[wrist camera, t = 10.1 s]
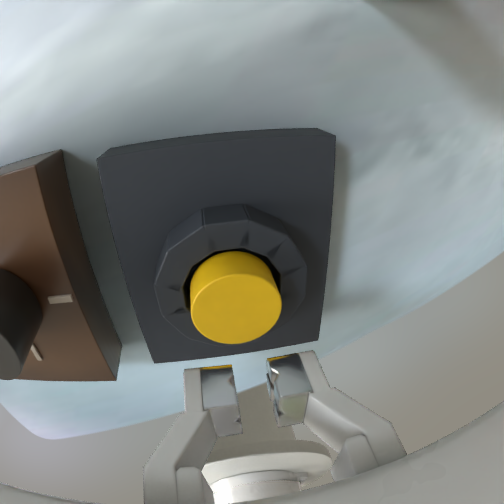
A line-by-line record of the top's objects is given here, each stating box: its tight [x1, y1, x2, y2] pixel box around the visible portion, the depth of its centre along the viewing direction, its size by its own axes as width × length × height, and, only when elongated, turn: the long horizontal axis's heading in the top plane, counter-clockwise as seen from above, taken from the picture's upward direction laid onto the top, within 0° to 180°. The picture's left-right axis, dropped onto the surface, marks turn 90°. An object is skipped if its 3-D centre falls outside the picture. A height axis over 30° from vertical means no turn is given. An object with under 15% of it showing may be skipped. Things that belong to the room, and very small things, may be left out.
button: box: [190, 251, 282, 344], centre depth 13 cm, size 4×4×2 cm
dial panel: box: [0, 149, 122, 381], centre depth 14 cm, size 13×9×3 cm
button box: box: [97, 128, 336, 363], centre depth 15 cm, size 12×10×4 cm
